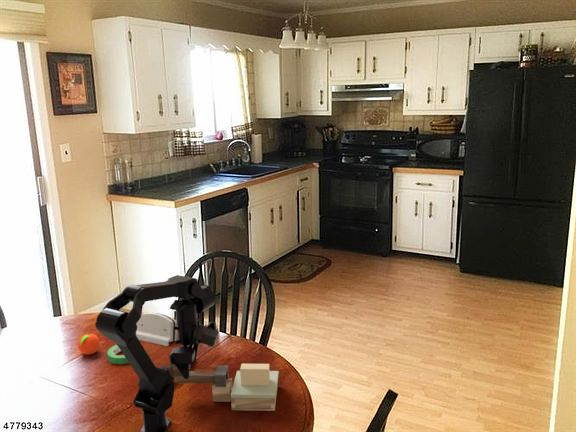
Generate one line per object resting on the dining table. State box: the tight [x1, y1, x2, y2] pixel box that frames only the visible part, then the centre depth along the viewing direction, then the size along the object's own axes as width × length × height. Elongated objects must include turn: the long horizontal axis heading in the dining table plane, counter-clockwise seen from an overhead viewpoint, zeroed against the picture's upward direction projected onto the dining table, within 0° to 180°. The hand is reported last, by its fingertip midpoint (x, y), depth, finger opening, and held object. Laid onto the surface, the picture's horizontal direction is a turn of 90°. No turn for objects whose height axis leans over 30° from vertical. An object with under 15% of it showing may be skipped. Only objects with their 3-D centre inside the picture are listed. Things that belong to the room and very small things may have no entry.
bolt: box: [159, 363, 174, 378], centre depth 161 cm, size 6×5×15 cm
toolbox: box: [211, 365, 279, 411], centre depth 145 cm, size 12×18×9 cm, turn 87°
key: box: [173, 364, 216, 384], centre depth 144 cm, size 3×12×6 cm, turn 87°
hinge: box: [136, 312, 178, 347], centre depth 183 cm, size 17×5×10 cm, turn 65°
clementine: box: [77, 333, 101, 356], centre depth 172 cm, size 8×7×7 cm
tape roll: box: [107, 344, 130, 365], centre depth 171 cm, size 11×11×3 cm
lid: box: [231, 363, 280, 399], centre depth 144 cm, size 12×12×6 cm
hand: (190, 369), depth 144 cm, fingers open, 9 cm apart
